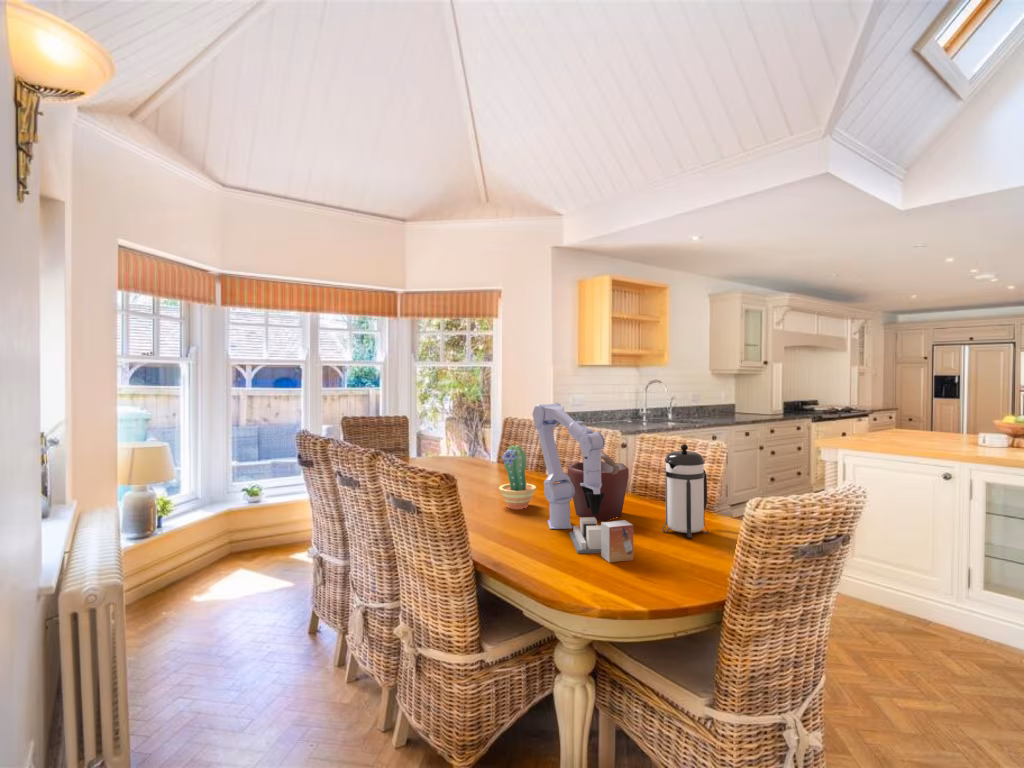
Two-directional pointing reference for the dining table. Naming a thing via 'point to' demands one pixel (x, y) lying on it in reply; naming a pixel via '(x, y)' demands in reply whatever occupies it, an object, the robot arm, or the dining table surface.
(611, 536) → the small box
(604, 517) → the bucket
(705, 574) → the dining table surface
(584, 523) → the block
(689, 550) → the dining table surface
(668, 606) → the dining table surface
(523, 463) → the potted cactus
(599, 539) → the rail plate
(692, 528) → the coffee press
